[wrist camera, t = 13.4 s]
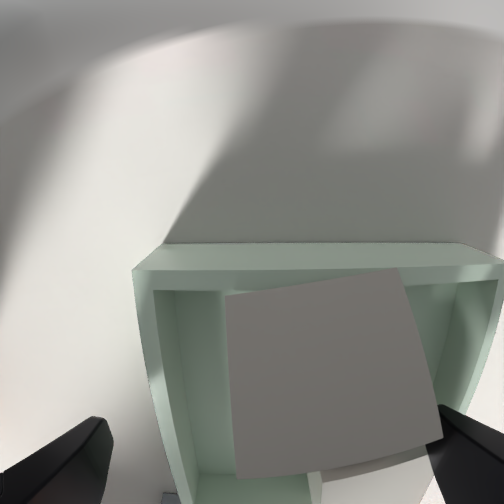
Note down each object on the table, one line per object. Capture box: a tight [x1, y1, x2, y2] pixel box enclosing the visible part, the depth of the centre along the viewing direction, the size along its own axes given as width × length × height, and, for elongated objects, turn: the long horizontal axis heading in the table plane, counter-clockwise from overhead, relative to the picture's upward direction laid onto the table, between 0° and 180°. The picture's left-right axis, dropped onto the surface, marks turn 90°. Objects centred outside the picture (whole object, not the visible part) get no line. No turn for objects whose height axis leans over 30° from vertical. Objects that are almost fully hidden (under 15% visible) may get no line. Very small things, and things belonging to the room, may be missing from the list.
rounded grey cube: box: [306, 445, 434, 504], centre depth 9 cm, size 4×4×4 cm
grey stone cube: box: [225, 267, 443, 479], centre depth 7 cm, size 4×4×4 cm
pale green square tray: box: [132, 243, 504, 504], centre depth 10 cm, size 11×11×3 cm
